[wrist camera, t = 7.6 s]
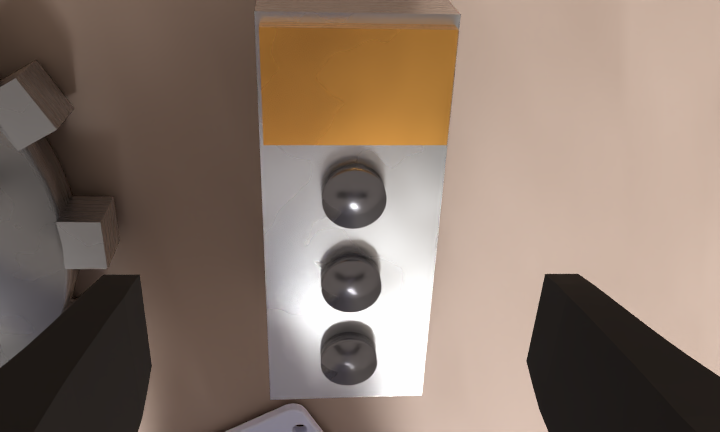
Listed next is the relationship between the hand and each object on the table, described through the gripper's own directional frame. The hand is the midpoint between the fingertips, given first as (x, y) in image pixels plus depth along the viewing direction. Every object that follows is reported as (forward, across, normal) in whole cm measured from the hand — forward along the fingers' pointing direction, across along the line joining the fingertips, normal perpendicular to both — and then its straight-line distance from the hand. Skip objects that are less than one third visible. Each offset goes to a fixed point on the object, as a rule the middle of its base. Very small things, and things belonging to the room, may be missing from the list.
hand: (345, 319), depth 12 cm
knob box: (+9, 0, 0) cm, 9 cm away
